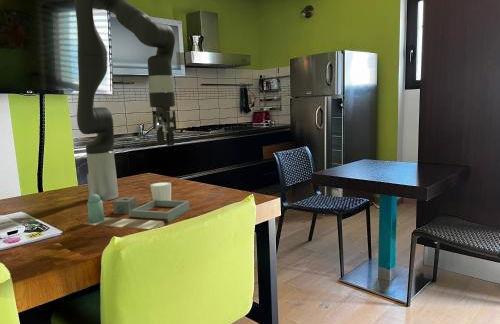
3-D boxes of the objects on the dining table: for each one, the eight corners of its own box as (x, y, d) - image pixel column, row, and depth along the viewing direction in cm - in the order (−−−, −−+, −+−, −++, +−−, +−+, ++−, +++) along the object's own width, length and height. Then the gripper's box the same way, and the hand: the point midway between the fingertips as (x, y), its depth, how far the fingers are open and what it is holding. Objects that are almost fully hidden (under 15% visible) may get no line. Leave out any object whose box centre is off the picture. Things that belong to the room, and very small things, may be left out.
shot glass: (154, 208, 121) (152, 187, 120) (149, 203, 127) (148, 183, 126) (175, 204, 124) (173, 184, 123) (169, 200, 130) (168, 180, 129)
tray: (131, 220, 109) (130, 210, 108) (155, 208, 120) (154, 199, 120) (168, 223, 104) (167, 212, 104) (189, 210, 116) (189, 201, 115)
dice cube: (129, 217, 112) (127, 201, 111) (114, 217, 113) (112, 201, 112) (137, 212, 117) (136, 197, 116) (123, 212, 118) (121, 197, 117)
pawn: (86, 222, 105) (82, 195, 104) (96, 218, 109) (93, 192, 107) (97, 223, 104) (94, 196, 102) (107, 219, 107) (104, 192, 106)
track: (82, 228, 104) (81, 224, 104) (99, 220, 110) (99, 216, 110) (149, 233, 96) (149, 229, 96) (164, 225, 103) (163, 220, 103)
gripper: (142, 92, 118) (146, 143, 121) (157, 90, 106) (161, 147, 109) (165, 92, 122) (169, 141, 125) (182, 90, 110) (185, 144, 113)
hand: (165, 144), depth 117 cm, fingers open, 8 cm apart
